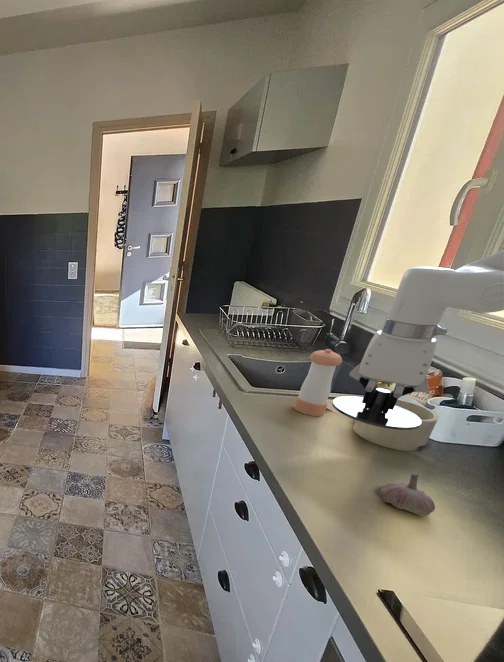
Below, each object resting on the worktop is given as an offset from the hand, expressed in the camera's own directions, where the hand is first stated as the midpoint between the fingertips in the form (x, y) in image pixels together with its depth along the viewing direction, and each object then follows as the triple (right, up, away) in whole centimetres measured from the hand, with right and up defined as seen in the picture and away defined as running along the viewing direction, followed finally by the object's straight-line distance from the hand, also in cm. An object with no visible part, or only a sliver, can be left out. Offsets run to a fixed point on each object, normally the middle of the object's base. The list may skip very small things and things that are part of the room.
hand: (375, 408), depth 86 cm
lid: (0, -1, 0) cm, 1 cm away
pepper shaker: (+8, -3, +28) cm, 30 cm away
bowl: (+17, -9, +15) cm, 24 cm away
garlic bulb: (-4, -19, -9) cm, 21 cm away
